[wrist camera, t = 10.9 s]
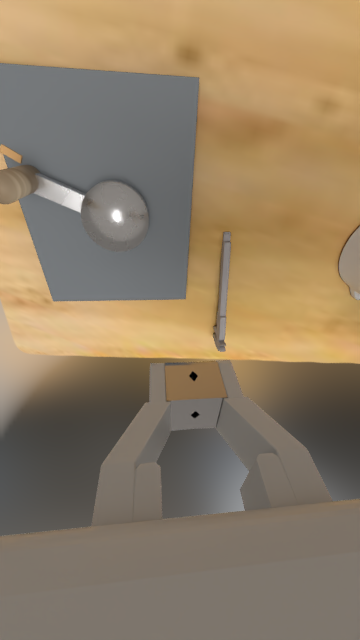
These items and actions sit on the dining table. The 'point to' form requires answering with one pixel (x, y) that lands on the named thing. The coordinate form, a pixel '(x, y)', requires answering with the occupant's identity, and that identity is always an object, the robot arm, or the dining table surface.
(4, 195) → the wooden knob lever
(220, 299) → the caliper
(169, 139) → the base plate
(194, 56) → the dining table surface
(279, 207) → the dining table surface
